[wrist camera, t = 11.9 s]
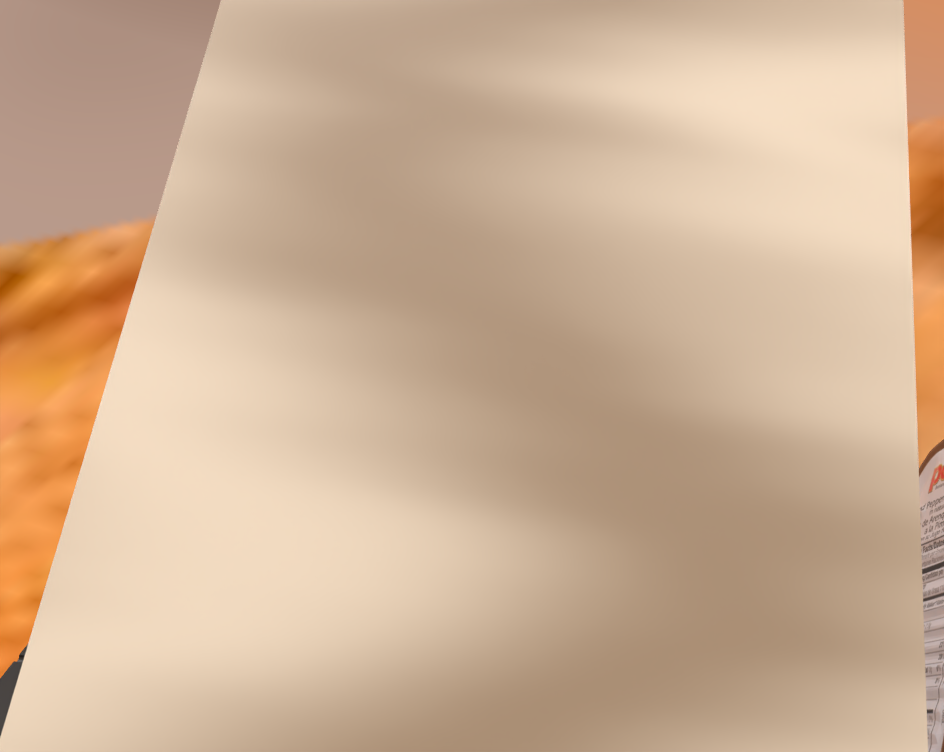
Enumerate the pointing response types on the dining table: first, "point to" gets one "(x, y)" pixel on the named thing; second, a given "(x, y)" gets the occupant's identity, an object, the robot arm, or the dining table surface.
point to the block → (509, 395)
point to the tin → (933, 589)
